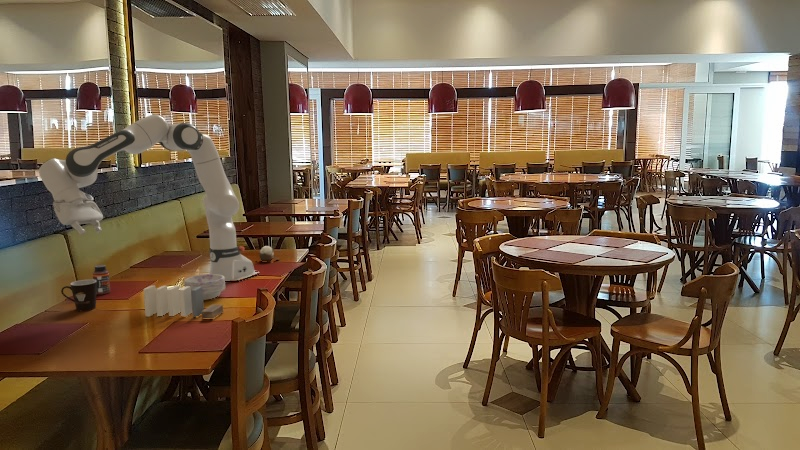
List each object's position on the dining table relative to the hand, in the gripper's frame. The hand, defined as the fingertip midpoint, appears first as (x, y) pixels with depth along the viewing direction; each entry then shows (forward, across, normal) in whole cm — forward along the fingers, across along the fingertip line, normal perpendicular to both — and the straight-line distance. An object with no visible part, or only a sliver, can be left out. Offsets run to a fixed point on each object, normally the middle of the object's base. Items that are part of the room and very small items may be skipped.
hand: (91, 232), depth 215 cm
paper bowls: (+40, +23, -12) cm, 48 cm away
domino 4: (+44, 0, -13) cm, 46 cm away
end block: (+49, 0, -21) cm, 54 cm away
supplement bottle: (+14, +26, +26) cm, 40 cm away
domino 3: (+41, 0, -9) cm, 42 cm away
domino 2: (+39, 0, -6) cm, 39 cm away
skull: (+35, +89, -18) cm, 98 cm away
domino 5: (+46, 0, -17) cm, 49 cm away
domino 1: (+36, +1, -2) cm, 36 cm away
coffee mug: (+20, +6, +23) cm, 30 cm away
